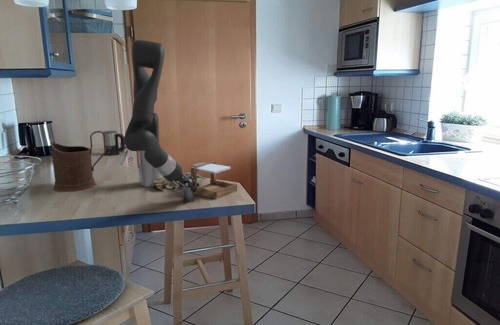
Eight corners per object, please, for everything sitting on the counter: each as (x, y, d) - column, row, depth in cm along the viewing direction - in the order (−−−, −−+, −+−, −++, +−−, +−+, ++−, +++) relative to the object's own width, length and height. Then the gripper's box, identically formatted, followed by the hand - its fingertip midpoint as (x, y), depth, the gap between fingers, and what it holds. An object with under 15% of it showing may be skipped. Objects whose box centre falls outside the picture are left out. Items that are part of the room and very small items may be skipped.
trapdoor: (188, 171, 164) (188, 165, 163) (205, 166, 172) (204, 161, 171) (214, 176, 155) (214, 170, 155) (230, 171, 163) (230, 166, 163)
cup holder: (56, 182, 180) (50, 130, 174) (110, 178, 187) (105, 128, 181) (49, 193, 163) (41, 136, 157) (108, 188, 170) (103, 133, 164)
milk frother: (103, 156, 238) (100, 132, 234) (106, 151, 253) (104, 129, 249) (126, 154, 241) (124, 131, 238) (128, 150, 256) (126, 128, 253)
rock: (154, 191, 176) (158, 197, 162) (150, 177, 175) (154, 182, 161) (201, 178, 184) (209, 183, 170) (197, 165, 183) (206, 168, 169)
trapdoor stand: (189, 192, 163) (188, 166, 161) (211, 185, 174) (210, 160, 172) (216, 199, 155) (215, 172, 152) (237, 190, 166) (236, 165, 163)
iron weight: (180, 201, 152) (179, 177, 150) (188, 198, 156) (187, 174, 154) (188, 203, 150) (187, 178, 148) (195, 200, 153) (195, 176, 151)
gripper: (185, 161, 139) (208, 185, 151) (159, 156, 147) (183, 179, 159) (175, 178, 136) (199, 201, 148) (149, 172, 144) (174, 194, 156)
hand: (191, 189), depth 154 cm, fingers closed on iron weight, 4 cm apart
